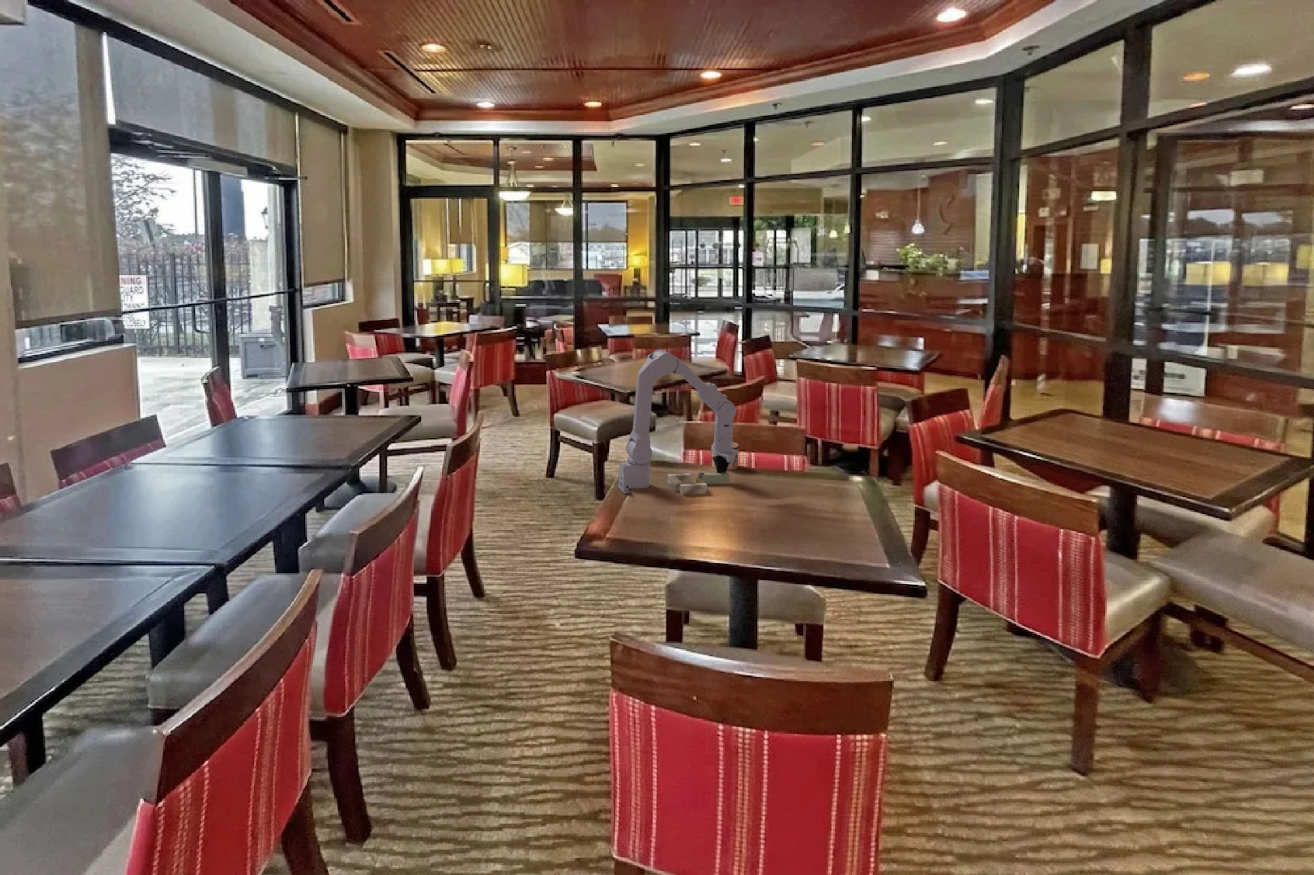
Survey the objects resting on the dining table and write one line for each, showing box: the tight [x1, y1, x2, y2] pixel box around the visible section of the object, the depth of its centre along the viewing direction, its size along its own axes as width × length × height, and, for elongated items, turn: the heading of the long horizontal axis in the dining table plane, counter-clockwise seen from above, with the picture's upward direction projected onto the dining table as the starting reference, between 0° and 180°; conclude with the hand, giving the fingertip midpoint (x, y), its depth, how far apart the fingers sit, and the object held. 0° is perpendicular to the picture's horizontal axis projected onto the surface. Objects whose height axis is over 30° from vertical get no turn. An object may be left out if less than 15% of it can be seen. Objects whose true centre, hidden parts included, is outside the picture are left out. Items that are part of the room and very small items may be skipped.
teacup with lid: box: [711, 440, 740, 471], centre depth 306 cm, size 12×9×12 cm
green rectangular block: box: [697, 471, 731, 485], centre depth 284 cm, size 2×10×3 cm, turn 99°
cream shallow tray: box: [667, 472, 708, 496], centre depth 279 cm, size 14×14×4 cm
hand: (721, 478), depth 286 cm, fingers closed, pressing on green rectangular block
